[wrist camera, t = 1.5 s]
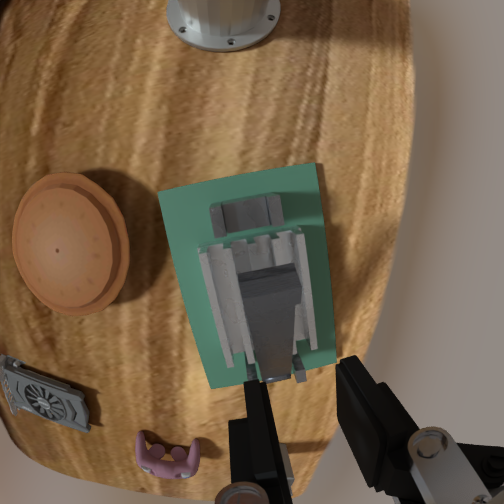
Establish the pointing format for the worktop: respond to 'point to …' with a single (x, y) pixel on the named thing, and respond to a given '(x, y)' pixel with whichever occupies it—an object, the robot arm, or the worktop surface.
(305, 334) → the heat sink
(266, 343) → the grey lever rod
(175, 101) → the worktop surface
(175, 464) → the video game controller
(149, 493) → the worktop surface
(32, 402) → the graphics card
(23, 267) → the pie
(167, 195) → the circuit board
